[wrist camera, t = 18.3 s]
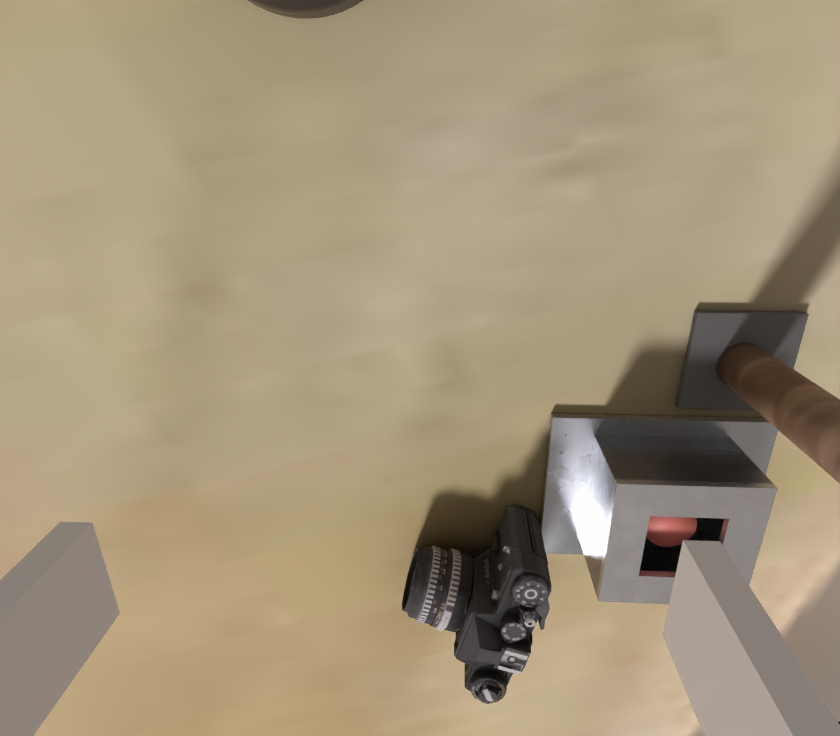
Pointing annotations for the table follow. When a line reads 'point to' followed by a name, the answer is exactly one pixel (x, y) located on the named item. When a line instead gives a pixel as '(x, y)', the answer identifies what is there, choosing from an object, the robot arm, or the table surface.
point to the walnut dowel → (786, 402)
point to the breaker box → (654, 494)
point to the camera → (485, 600)
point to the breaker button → (670, 530)
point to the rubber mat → (722, 332)
